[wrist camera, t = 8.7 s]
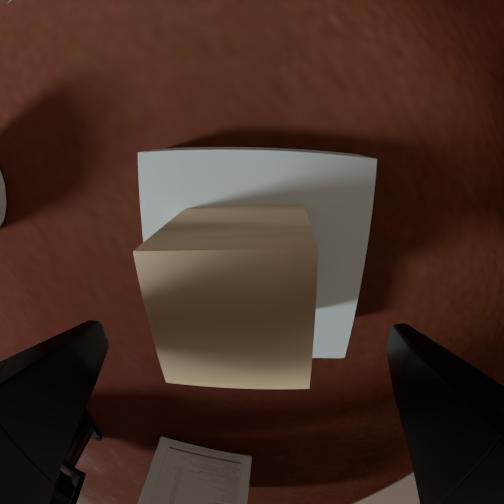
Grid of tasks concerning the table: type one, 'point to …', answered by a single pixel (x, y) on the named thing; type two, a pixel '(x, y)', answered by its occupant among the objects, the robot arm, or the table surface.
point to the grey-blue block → (274, 194)
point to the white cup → (2, 199)
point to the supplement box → (195, 475)
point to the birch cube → (232, 296)
